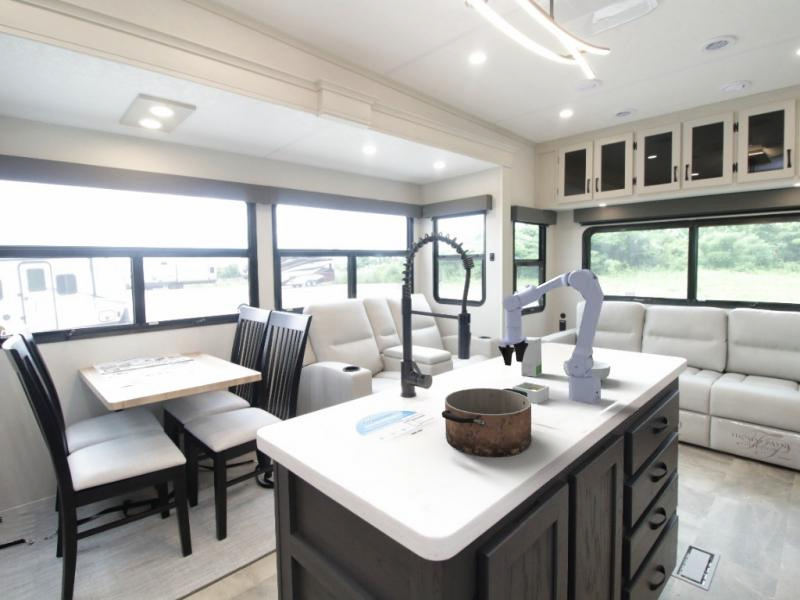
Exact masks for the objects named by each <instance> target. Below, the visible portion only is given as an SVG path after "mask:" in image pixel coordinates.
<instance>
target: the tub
mask: <svg viewBox="0 0 800 600" xmlns="http://www.w3.org/2000/svg"><path fill="white" fill-rule="evenodd" d="M524 388H528V389H530V390H528V389H524ZM534 388H537V389H540V390H538V391H533V390H532V389H534ZM512 389H516V390H520V391H524V392H526V393H527V398H529V399H530V401H531V404H535V405H539V404H540V403H542V402H544V401H546V400H547V401H548V400H549V399H550V387H549V386H547V385H543V384H538V383H532V382H527V381H525V382H522V383H518V384H515V385H514V386H512Z"/></svg>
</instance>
